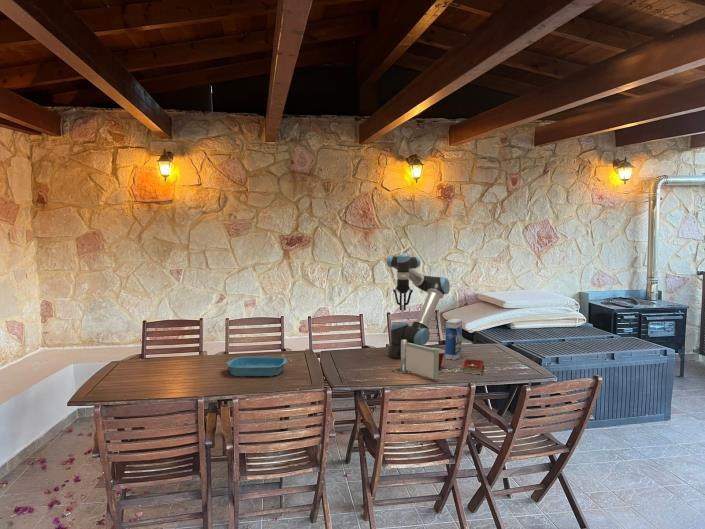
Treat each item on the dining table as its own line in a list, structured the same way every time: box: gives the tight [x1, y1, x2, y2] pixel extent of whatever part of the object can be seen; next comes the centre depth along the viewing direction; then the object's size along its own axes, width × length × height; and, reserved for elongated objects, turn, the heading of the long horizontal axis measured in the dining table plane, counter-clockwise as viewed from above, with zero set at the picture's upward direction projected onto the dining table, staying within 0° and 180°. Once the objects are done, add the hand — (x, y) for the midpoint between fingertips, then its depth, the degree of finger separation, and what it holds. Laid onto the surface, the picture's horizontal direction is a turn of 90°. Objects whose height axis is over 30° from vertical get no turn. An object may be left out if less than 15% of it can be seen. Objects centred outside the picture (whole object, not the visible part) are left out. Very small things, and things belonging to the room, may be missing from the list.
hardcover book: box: [461, 358, 485, 376], centre depth 295 cm, size 12×21×4 cm, turn 162°
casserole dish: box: [226, 356, 288, 377], centre depth 286 cm, size 37×22×7 cm, turn 90°
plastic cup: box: [432, 347, 445, 370], centre depth 296 cm, size 11×11×12 cm
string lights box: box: [444, 318, 463, 361], centre depth 321 cm, size 13×8×26 cm, turn 148°
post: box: [394, 339, 412, 375], centre depth 289 cm, size 8×8×20 cm
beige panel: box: [406, 343, 439, 380], centre depth 279 cm, size 23×2×17 cm, turn 43°
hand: (402, 315), depth 300 cm, fingers closed
